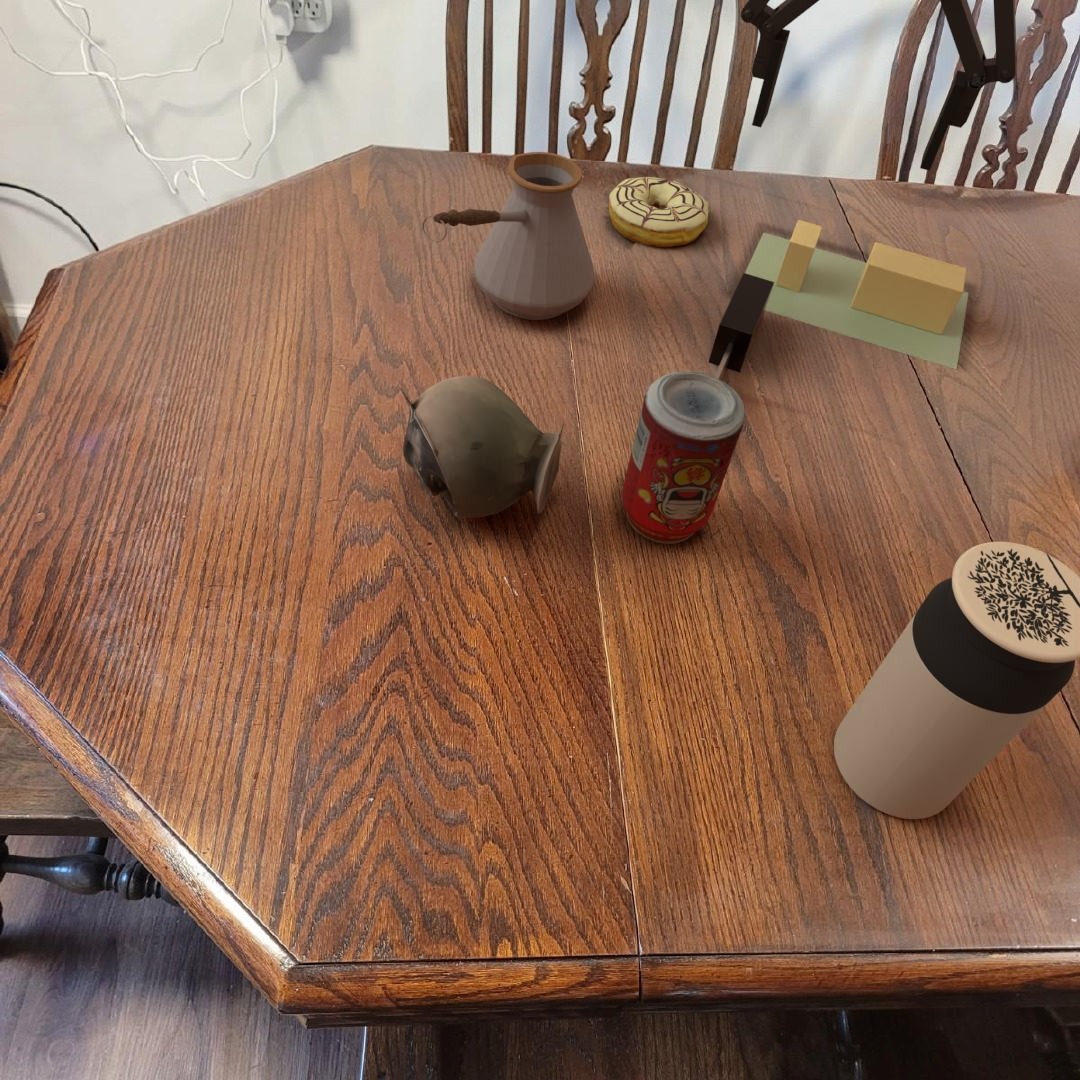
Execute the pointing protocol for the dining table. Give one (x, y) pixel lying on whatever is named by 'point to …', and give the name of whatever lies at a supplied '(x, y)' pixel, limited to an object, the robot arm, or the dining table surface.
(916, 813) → the travel mug
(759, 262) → the butter board
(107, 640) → the dining table surface
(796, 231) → the butter slice
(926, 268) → the butter block
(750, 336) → the knife
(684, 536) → the soda can
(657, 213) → the decorated donut
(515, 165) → the coffee pot
